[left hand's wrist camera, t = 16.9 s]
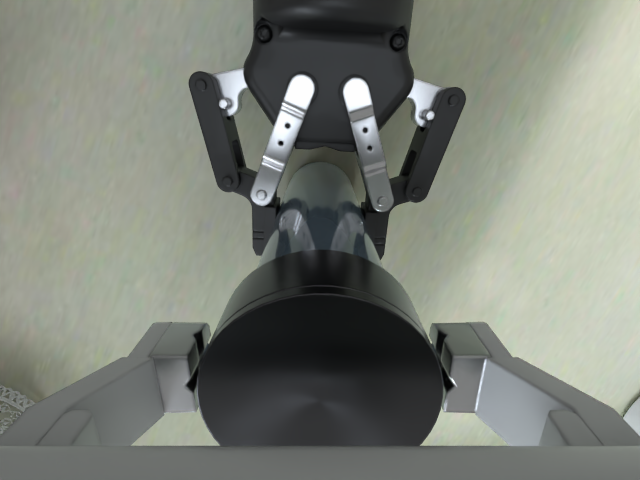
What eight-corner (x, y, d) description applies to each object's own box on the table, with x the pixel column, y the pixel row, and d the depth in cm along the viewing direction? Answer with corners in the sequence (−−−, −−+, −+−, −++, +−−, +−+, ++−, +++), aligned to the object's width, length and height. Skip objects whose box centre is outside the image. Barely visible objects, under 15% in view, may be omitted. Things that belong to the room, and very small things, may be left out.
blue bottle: (357, 165, 26) (439, 307, 8) (348, 229, 28) (398, 460, 10) (289, 158, 26) (221, 286, 8) (284, 222, 28) (219, 446, 10)
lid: (292, 207, 9) (284, 241, 7) (458, 318, 10) (496, 378, 8) (187, 357, 11) (153, 423, 9) (340, 437, 12) (345, 514, 10)
